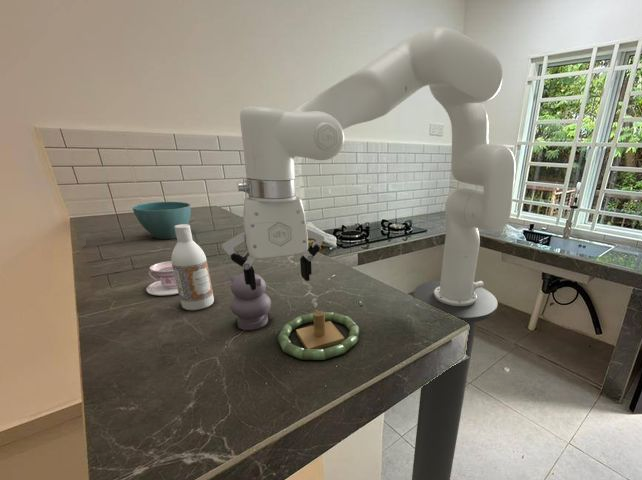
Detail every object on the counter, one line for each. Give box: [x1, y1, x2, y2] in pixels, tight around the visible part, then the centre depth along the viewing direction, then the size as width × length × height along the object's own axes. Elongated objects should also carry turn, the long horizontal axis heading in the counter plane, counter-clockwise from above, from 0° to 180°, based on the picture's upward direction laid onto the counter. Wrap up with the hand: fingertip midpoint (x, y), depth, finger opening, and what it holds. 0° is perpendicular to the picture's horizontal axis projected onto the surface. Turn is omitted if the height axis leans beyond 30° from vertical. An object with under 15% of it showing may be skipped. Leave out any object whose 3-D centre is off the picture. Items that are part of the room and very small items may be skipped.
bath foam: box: [170, 224, 215, 311], centre depth 76 cm, size 7×7×20 cm
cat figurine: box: [227, 273, 272, 331], centre depth 72 cm, size 8×8×12 cm
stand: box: [295, 310, 346, 349], centre depth 69 cm, size 8×8×6 cm
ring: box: [277, 311, 360, 361], centre depth 70 cm, size 17×17×2 cm
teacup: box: [145, 260, 179, 297], centre depth 87 cm, size 12×12×6 cm
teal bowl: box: [132, 201, 192, 240], centre depth 127 cm, size 18×18×12 cm
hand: (280, 282), depth 61 cm, fingers open, 9 cm apart
